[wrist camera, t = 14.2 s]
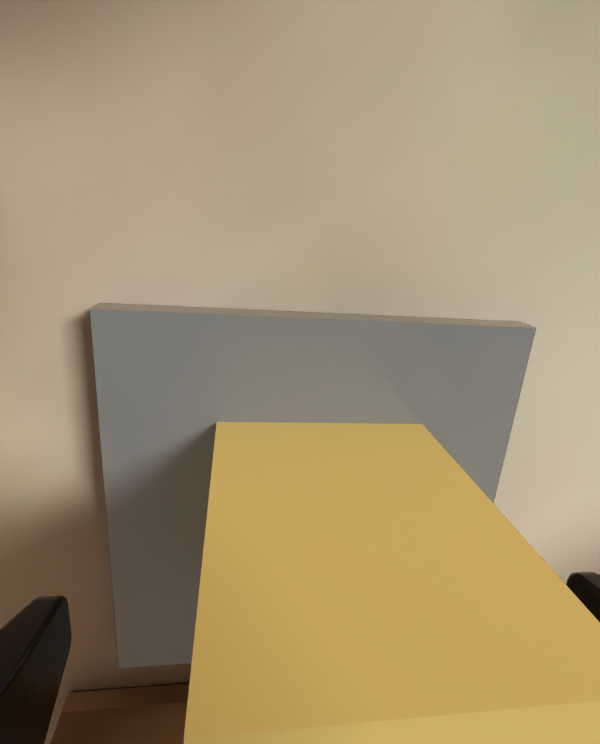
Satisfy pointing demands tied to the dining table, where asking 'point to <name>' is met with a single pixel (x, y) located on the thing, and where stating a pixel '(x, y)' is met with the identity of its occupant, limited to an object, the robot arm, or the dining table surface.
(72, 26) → the dining table surface
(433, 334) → the coaster
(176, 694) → the board
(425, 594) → the block
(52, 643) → the robot arm
